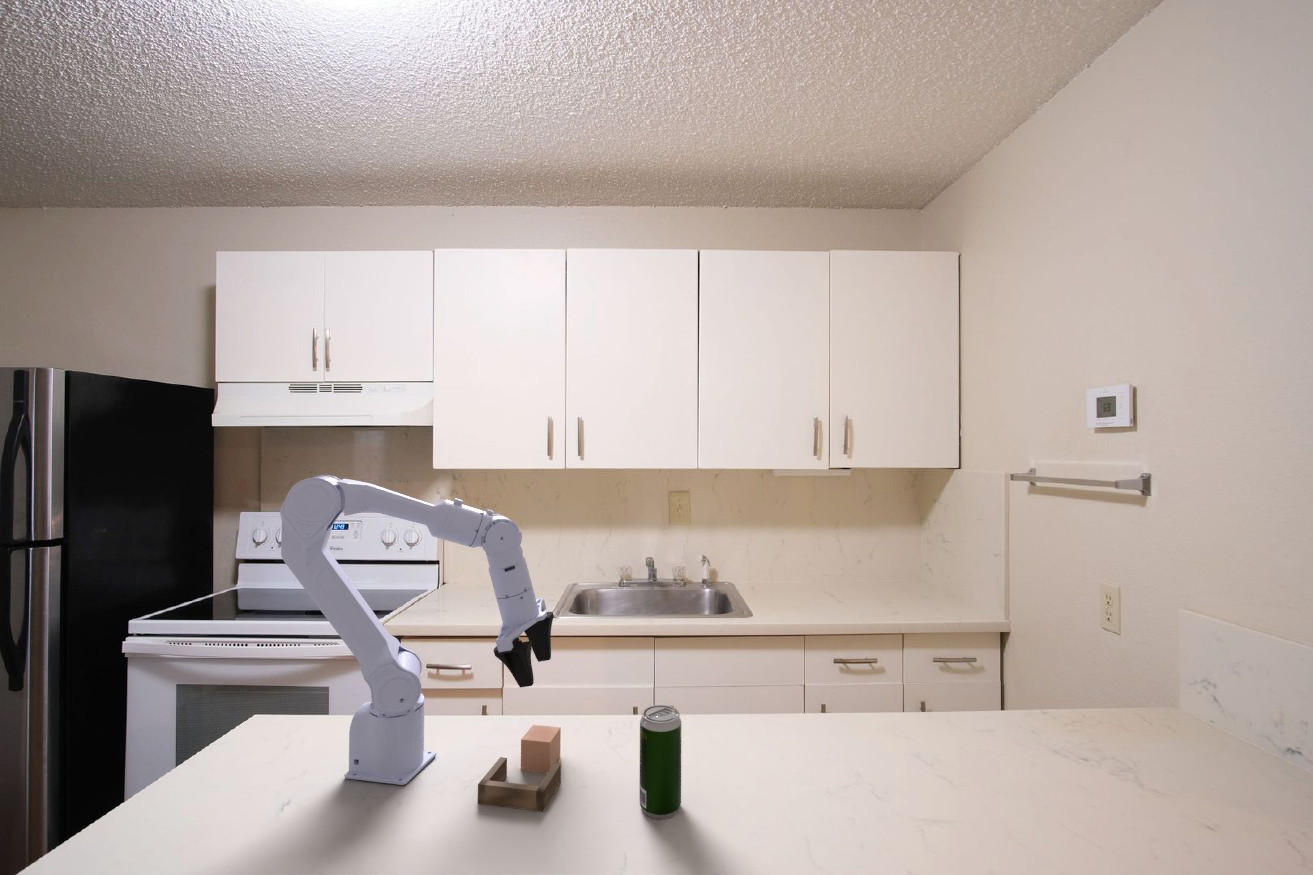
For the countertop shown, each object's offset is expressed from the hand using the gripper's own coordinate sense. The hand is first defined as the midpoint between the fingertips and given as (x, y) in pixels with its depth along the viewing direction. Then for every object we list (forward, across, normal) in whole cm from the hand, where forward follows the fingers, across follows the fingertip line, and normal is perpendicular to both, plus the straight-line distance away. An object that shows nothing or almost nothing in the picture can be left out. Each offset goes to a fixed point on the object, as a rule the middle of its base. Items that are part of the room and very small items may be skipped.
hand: (536, 672), depth 89 cm
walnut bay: (+9, -14, -1) cm, 17 cm away
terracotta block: (+10, -7, -1) cm, 13 cm away
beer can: (+14, -14, -20) cm, 28 cm away
